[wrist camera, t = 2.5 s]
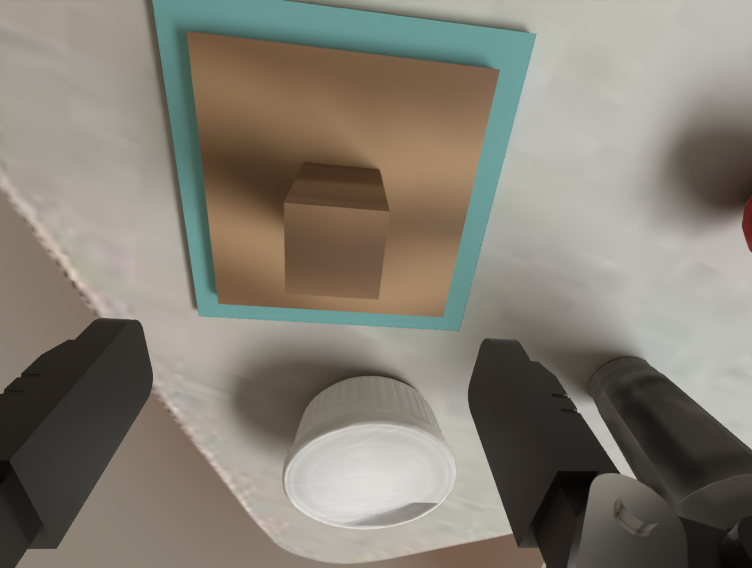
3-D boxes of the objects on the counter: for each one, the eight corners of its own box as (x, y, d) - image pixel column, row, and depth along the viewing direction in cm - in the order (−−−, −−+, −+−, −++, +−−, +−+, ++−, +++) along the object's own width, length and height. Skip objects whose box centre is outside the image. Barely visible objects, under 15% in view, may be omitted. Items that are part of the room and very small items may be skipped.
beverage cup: (590, 428, 31) (892, 900, 13) (553, 375, 28) (882, 899, 10) (682, 385, 29) (1175, 872, 12) (653, 323, 26) (1266, 860, 8)
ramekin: (338, 480, 33) (335, 548, 28) (262, 397, 28) (243, 464, 23) (462, 436, 31) (480, 502, 26) (404, 337, 26) (415, 398, 21)
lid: (193, 32, 16) (101, 16, 10) (494, 69, 17) (565, 73, 11) (222, 296, 23) (175, 379, 17) (440, 309, 24) (468, 392, 18)
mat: (155, -16, 16) (149, -18, 15) (531, 34, 17) (536, 34, 17) (201, 311, 24) (198, 316, 23) (457, 326, 25) (459, 330, 25)
